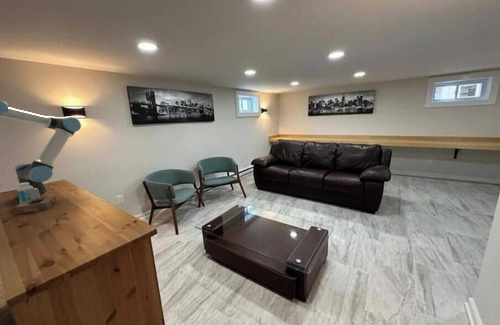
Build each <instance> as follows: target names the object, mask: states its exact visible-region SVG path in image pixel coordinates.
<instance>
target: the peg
mask: <svg viewBox="0 0 500 325" xmlns="http://www.w3.org/2000/svg"><path fill="white" fill-rule="evenodd" d="M29 193H30V197H31V201H32V203H37V202H41V198H42V197H41V194H39V189H38V188H33V189H29Z"/></svg>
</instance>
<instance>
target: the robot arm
mask: <svg viewBox="0 0 500 325" xmlns="http://www.w3.org/2000/svg"><path fill="white" fill-rule="evenodd" d="M0 118H5V119H10V120H13V121H18V122H24V123H29V124H33V125H38V126H41V127H44V128H45V129H50V130H54V131H55V132H54V133H53V135H52V136H51V138H50V139H49V141H48V142H47V144H46V145H45V147H44V148H43V150H42V152H41V153H40V155H39V156H38V158H37V159H35V160H33V161H32V162H29V163H23V164H22V163H21V164H16V165H15V167H14V168H15V172H16V175H17V180H18V188H19V187H20V186H19V184H20V183H27V182H29V185H30V186H33V188H38V189H39V194H40V195H41V194H43V193H46V192H47V191H48V189H47V187H46V185H45V184H44V183H43V182H46V181H48V180H50V179H51V178H52V177H53V169H54V167H55V166H54V162H55V161H56V159H57V158H58V156H59V154H60V153H61V152H62V149H63V148H64V146H65V145H66V143H67V141H68V140H69V138H70V137H73V136H74V135H75V133H76V132H78V131H80V130H81V128H82V124H81V122H80V120H79V119H78V118H76V117H74V116H60V117H58V116H57V117H56V116H51V115H40V114H37V113H33V112H29V111H25V110H20V109H16V108H13V107H9V105H8V103H7V102H6V101H4V100H0Z"/></svg>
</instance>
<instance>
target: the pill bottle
mask: <svg viewBox="0 0 500 325" xmlns="http://www.w3.org/2000/svg"><path fill="white" fill-rule="evenodd" d="M19 186H20V187H19ZM29 189H33V186H30V185H29V182H27V183H20V184H19V183H18V187H17V188H16V192H17V196H18V200H19V204H21V203H23V202H24V201H26V200H29V199H31V197H30V193H29Z"/></svg>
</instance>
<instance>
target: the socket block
mask: <svg viewBox="0 0 500 325" xmlns="http://www.w3.org/2000/svg"><path fill="white" fill-rule="evenodd" d="M40 198H41V202H37V203H32V201H31V199H29V200H26V201H24V202H23V203H21V204H20V203H19V204H17V205H16V206H14V207H13V209H14V212H15V215H18V214H19V213H20V214H25V213H31V212H39V211H44V210H48V209H50V208H51V207H52V206H53V205H54V204H56V203H57V202H58V200H57V195H52V196H46V197H40Z"/></svg>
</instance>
